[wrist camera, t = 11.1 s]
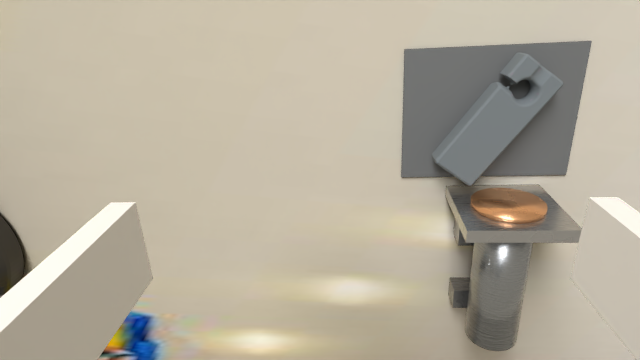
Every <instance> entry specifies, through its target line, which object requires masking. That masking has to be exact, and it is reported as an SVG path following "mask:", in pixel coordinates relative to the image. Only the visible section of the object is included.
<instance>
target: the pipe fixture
mask: <svg viewBox="0 0 640 360" xmlns="http://www.w3.org/2000/svg"><path fill="white" fill-rule="evenodd" d="M445 196H446V198H447V201H448V203H449V205H450V208H451V210H452V212H453V214H454V217H455V222H454V237H455V239H456V241H457V244H458V245H474V247H473V256H472V266H471V275H470V278H450V282H449V297H450V301H451V304H452V307H455V308H467V313H466V322H465V332H466V335H467V336H468V338H469V339H470V340H471V341H472V342H473V343H475V344H476V345H478V346H480V347H482V348H484V349H487V350H492V351H504V350H508V349H510V348H511V347H513V346H514V344H515V343H516V338H517V332H518V327H519V321H520V315H521V309H522V303H523V297H524V291H525V285H526V279H527V274H528V268H529V262H530V256H531V250H532V244H533V243H579V238H580V234H581V230H582V228H581V227H580V226H579V225H578V224H577V223H576V222H575V221H574V220H573V219H572V218H571V217H570V216H569V215H568V214H567V213H566V212H565V211H564V210H563V209H562V208H561V207H560V206H559V205H558V204H557V203H556V202H555V201H554V200H553V199H552V197H551V196H550V195H549V194H548V193H547V192H546V191H545V190H544V189H543V188H542V187H541V186H540V185H477V186H446V194H445Z"/></svg>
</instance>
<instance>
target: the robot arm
mask: <svg viewBox="0 0 640 360" xmlns="http://www.w3.org/2000/svg"><path fill="white" fill-rule="evenodd" d="M23 271H24V259H23V254H22V250H21V247H20V244H19V242H18V240H17V238H16V236H15V234H14V233H13V231H12V229H11V228H10V226H9V225H8V224H7V223H6V221H5V220H4V219H3V218H2V217H1V216H0V360H97V359H98V358H99V356H100V355H101V353H102V352H103V350H104V349H105V347H106V346H107V345H108V343H109V342H110V340H111V339H112V337H113V336H114V334H115V333H116V331H117V330H118V329H119V327H120V326H121V324H122V323H123V321H124V320H125V318H126V317H127V315H128V314H129V313H130V311H131V310H132V308H133V307H134V305H135V304H136V302H137V301H138V300H139V298H140V297H141V295H142V294H143V292H144V291H145V289H146V288H147V286H148V285H149V284H150V282H151V281H152V279H153V276H152V272H151V267H150V263H149V259H148V255H147V250H146V246H145V242H144V237H143V233H142V229H141V225H140V220H139V216H138V212H137V208H136V203H135V202H122V203H110V204H108V205H107V206H106V207H105V208H104V209H103V210H102V211H100V212H99V213H98V214H97V215H96V216H95V217H93V218H92V219H91V220H90V221H89V222H88V223H86V224H85V225H84V226H83V227H82V228H81V229H80V230H78V231H77V232H76V233H75V234H74V235H73V236H71V237H70V238H69V239H68V240H67V241H66V242H64V243H63V244H62V245H61V246H60V247H59V248H58V249H56V250H55V251H54V252H53V253H52V254H51V255H49V256H48V257H47V258H46V259H45V260H44V261H42V262H41V263H40V264H39V265H38V266H37V267H36V268H34V269H33V270H32V271H31V272H30V273H29V274H27V275H26V276H25V277H24V278H23V279H22V276H23ZM21 279H22V280H21ZM570 279H571V281H572V282H573V283H574V284H575V286H576V287H577V288H578V289H579V290H580V292H581V293H582V294H583V295H584V297H585V298H586V299H587V300H588V302H589V303H590V304H591V305H592V306H593V308H594V309H595V310H596V311H597V313H598V314H599V315H600V316H601V318H602V319H603V320H604V321H605V322H606V324H607V325H608V326H609V327H610V329H611V330H612V331H613V332H614V333H615V335H616V336H617V337H618V338H619V340H620V341H621V342H622V343H623V345H624V346H625V347H626V348H627V349H628V351H629V352H630V353H631V354H632V356H633V357H634V358H635V359H636V360H640V213H639V212H638V211H636V210H635V209H634V208H632V207H631V206H629V205H628V204H627V203H625V202H624V201H622V200H621V199H620V198H618V197H589V201H588V205H587V209H586V213H585V217H584V222H583V226H582V230H581V234H580V238H579V243H578V247H577V251H576V255H575V260H574V264H573V268H572V272H571V276H570Z"/></svg>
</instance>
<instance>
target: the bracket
mask: <svg viewBox="0 0 640 360" xmlns="http://www.w3.org/2000/svg"><path fill="white" fill-rule="evenodd" d="M500 74H501V75H503V76H504V77H505V78H507V79H508V80H510V81H511V82H510V84H511V85H513V84H514V83H516V84H517V83H518V82H519V81H521V80H528V81H529V83H530V90H529V92H528V93H527V95H526V96H525V97H523V98H521V99H515V98H514V96H513V94H512V92H511V91H510V90H509V88H510V87H509V86H507V87H505V86H503V85H502V84H501V83H500V82H495V83H491V84H490V85H489V86H488V88H487V89H486V90H485V91H484V92H483V94H482V95H481V96H480V97H479V98H478V100H477V101H476V102H475V103H474V104H473V105H472V107H471V108H470V109H469V110H468V111H467V113H466V114H465V115H464V116H463V117H462V119H461V120H460V121H459V122H458V123H457V125H456V126H455V127H454V128H453V129H452V130H451V132H450V133H449V134H448V135H447V136H446V138H445V139H444V140H443V141H442V142H441V144H440V145H439V146H438V147H437V148H436V150H435V151H434V152H433V153H432V158H433V160H434V161H435V163H436V164H438V165H439V166H441V167H442V168H443V169H445V170H446V171H448V172H449V173H451V174H452V175H453V176H455V177H456V178H458V179H459V180H461V181H462V182H463V183H465V184H466V185H468V186H472V185H473V184H474V183H475V182H476V181H477V180H478V178H479V177H480V176H481V175H482V174H483V173H484V172H485V171H486V170H487V169H488V167H489V166H490V165H491V164H492V163H493V162H494V161H495V160H496V159H497V158H498V156H499V155H500V154H501V153H502V152H503V151H504V150H505V149H506V148H507V147H508V145H509V144H510V143H511V142H512V141H513V140H514V139H515V138H516V137H517V136H518V134H519V133H520V132H521V131H522V130H523V129H524V128H525V127H526V126H527V125H528V124H529V122H530V121H531V120H532V119H533V118H534V117H535V116H536V115H537V114H538V113H539V111H540V110H541V109H542V108H543V107H544V106H545V105H546V104H547V103H548V102H549V100H550V99H551V98H552V97H553V96H554V95H555V94H556V93H557V92H558V91H559V89H560V88H561V87H562V86H563V81H561V80H560V79H559V78H558V77H556V76H555V75H554V74H553V73H551V72H550V71H548V70H547V69H545V68H544V67H543V66H542V65H541V64H540V63H539V62H538V61H536V60H535V59H534V58H533V57H531V56H530V55H529V54H526V53H521V52H519V53H516V54H515V55H514V57H513V58H512V59H511V60H510V61H509V63H508V64H507V65H506V66H505V67H504V69H503V70H502V71H501V72H500Z"/></svg>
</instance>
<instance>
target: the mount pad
mask: <svg viewBox="0 0 640 360" xmlns="http://www.w3.org/2000/svg"><path fill="white" fill-rule="evenodd" d="M590 47H591V41H578V42H556V43H534V44H512V45H490V46H468V47H446V48H424V49H405V51H404V91H403V130H402V170H401V177H450V176H453V175H452V174H451V173H449V172H448V171H446V170H445V169H443V168H442V167H441V166H439V165H438V164H436V163H435V161H434V160H433V158H432V153H433V152H434V151H435V150H436V148H437V147H438V146H439V145H440V144H441V142H442V141H443V140H444V139H445V138H446V136H447V135H448V134H449V133H450V132H451V130H452V129H453V128H454V127H455V126H456V125H457V123H458V122H459V121H460V120H461V119H462V117H463V116H464V115H465V114H466V113H467V111H468V110H469V109H470V108H471V107H472V105H473V104H474V103H475V102H476V101H477V100H478V98H479V97H480V96H481V95H482V94H483V92H484V91H485V90H486V89H487V88H488V86H489V85H490V84H491V83H495V82H500V83H501V84H502V85H503V86H505V87H507V86H509V87H510V88H509V90H510V91H511V92H512V94H513V96H514V98H515V99H521V98H523V97H525V96H526V95H527V93H528V92H529V90H530V83H529V81H528V80H521V81H519V82H518V83H517V84H516V83H514V84H513V85H511V84H510V82H511V81H510V80H508V79H507V78H505V77H504V76H503V75H501V74H500V72H501V71H502V70H503V69H504V67H505V66H506V65H507V64H508V63H509V61H510V60H511V59H512V58H513V57H514V55H515V54H516V53H519V52H521V53H526V54H529V55H530V56H531V57H533V58H534V59H535V60H536V61H538V62H539V63H540V64H541V65H542V66H543V67H544V68H545V69H547V70H548V71H550V72H551V73H553V74H554V75H555V76H556V77H558V78H559V79H560V80H561V81H563V86H562V87H561V88H560V89H559V91H558V92H557V93H556V94H555V95H554V96H553V97H552V98H551V99H550V100H549V102H548V103H547V104H546V105H545V106H544V107H543V108H542V109H541V110H540V111H539V113H538V114H537V115H536V116H535V117H534V118H533V119H532V120H531V121H530V122H529V124H528V125H527V126H526V127H525V128H524V129H523V130H522V131H521V132H520V133H519V134H518V136H517V137H516V138H515V139H514V140H513V141H512V142H511V143H510V144H509V145H508V147H507V148H506V149H505V150H504V151H503V152H502V153H501V154H500V155H499V156H498V158H497V159H496V160H495V161H494V162H493V163H492V164H491V165H490V166H489V167H488V169H487V170H486V171H485V172H484V173H483V174H482V175H481V176H514V175H566V172H567V166H568V161H569V156H570V151H571V146H572V140H573V135H574V130H575V125H576V120H577V114H578V109H579V104H580V99H581V94H582V88H583V83H584V78H585V73H586V67H587V62H588V57H589V52H590Z"/></svg>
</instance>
